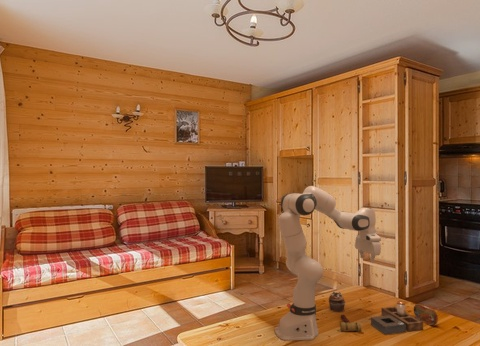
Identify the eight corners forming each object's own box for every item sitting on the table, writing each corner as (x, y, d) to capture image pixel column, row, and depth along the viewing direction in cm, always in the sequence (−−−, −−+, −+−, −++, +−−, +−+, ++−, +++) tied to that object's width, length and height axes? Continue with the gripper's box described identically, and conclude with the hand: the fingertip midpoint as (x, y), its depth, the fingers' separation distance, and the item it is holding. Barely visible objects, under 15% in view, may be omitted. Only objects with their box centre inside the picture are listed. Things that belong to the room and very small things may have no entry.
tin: (413, 316, 195) (413, 302, 195) (418, 316, 196) (417, 301, 196) (434, 328, 181) (433, 312, 181) (439, 327, 181) (438, 311, 182)
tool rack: (408, 331, 177) (408, 323, 177) (381, 315, 198) (381, 308, 198) (423, 329, 179) (423, 322, 179) (395, 313, 200) (395, 306, 200)
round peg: (400, 324, 186) (400, 303, 186) (395, 321, 190) (395, 301, 190) (407, 323, 187) (406, 302, 187) (402, 320, 191) (401, 300, 191)
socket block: (385, 334, 174) (384, 326, 174) (371, 324, 185) (370, 317, 185) (405, 332, 176) (405, 324, 176) (390, 322, 188) (390, 315, 188)
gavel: (332, 310, 198) (350, 310, 197) (332, 319, 198) (350, 319, 197) (341, 323, 177) (361, 324, 177) (342, 333, 177) (361, 333, 176)
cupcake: (327, 311, 205) (327, 294, 205) (330, 305, 214) (329, 289, 214) (344, 313, 201) (344, 296, 201) (346, 307, 210) (345, 291, 210)
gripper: (352, 232, 205) (352, 256, 205) (372, 238, 185) (372, 264, 185) (361, 232, 207) (361, 255, 206) (382, 238, 187) (382, 264, 186)
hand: (366, 260), depth 196 cm, fingers open, 8 cm apart
